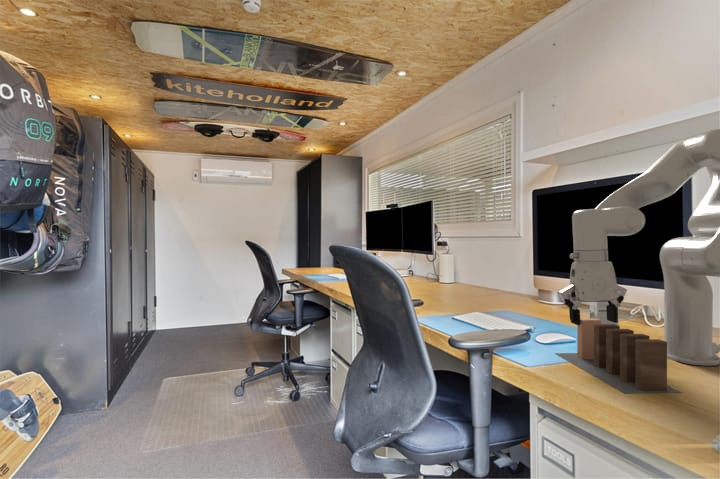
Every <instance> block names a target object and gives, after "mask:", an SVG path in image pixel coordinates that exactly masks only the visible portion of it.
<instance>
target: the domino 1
mask: <svg viewBox="0 0 720 479" xmlns="http://www.w3.org/2000/svg"><path fill="white" fill-rule="evenodd" d="M580 323H581V324H580V325H576V326H577V327H576V328H577V336H576V337H577V339H576V340H577V343H576V344H577V345H576V346H577V351H576V353H577V357H579V358H581V359H594V324H601V320H599V319H596V318H590V317H589V318H580Z"/></svg>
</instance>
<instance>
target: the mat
mask: <svg viewBox="0 0 720 479" xmlns="http://www.w3.org/2000/svg"><path fill="white" fill-rule="evenodd" d="M554 355H556V356H558V357H560V358H562V359H563V360H566V362H569V363H570V364H572V365H573V366H576V367H577V368H579V369H580V370H583V371H584V372H585V373H587V374H589V375H591V376H592V377H595V378H596V379H598V380H600V381H601V382H604V383H605V384H607V385H609V387H611V388H613V389H616V390H617V391H619V392H620V393H622V394H624V395H627V394H628V395H631V394H632V395H634V394H635V395H639V394H640V395H642V394H644V395H646V394H650V395H651V394H684V392H683V391H680V390H678V389H677V388H674V387H672V386H670V385H668V384H667V391H641V390H640V389H638V388H636V387H635V383H626V382H624V381H623V380H621V379H620V375H611V374H609V373H607V372H606V368H598V367H596V366H594V359H581V358H579V357H577V352H567V353H565V352H561V353H559V352H554Z"/></svg>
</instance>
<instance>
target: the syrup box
mask: <svg viewBox="0 0 720 479" xmlns="http://www.w3.org/2000/svg"><path fill="white" fill-rule="evenodd" d="M607 305H609V304H608V303H607V302H606V301H603V302H589V318H596V319H599V320H601V324H615V325H618V326H620V325H619V322H620V321H619V320H620V319H618V322H617V323H614V322H611V321H608V320H607V311H606V306H607Z"/></svg>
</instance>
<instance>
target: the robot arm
mask: <svg viewBox="0 0 720 479" xmlns="http://www.w3.org/2000/svg"><path fill="white" fill-rule="evenodd" d="M705 167H706V169H707V172H708V174H709V177H710V186H709V188H708V190H707V192H706V193H705V194H704V196H703V198H702V199H701V201H700V202H699V203H698V205H697V206H696V208H694V211H693V212H692V214H691V215H690V217H689V219H688V222H687V229H688V231H689V232H690V234H692V235H693V236H682V237H681V236H680V237H675V238H672V239H670V240H667V242H665V243H664V244H663V245H662V246H661V248H660V251H659V262H660V265H661V269H662V274H663V284H664V285H663V286H664V288H663V290H664V291H663V292H664V293H663V294H664V297H663V301H664V302H663V310H664V311H663V315H664V316H663V322H664V323H663V325H664V327H663V331H664V332H663V335H664V336H663V341H666V342H667V360H671V361H674V362H678V363H682V364H687V365H696V366H706V367H710V366H713V367H714V366H718V365H720V357H719V356H718V355H717V354H718V353H720V344H717V343H716V342H713V311H714V309H713V304H714V303H713V301H714V296H713V295H714V294H713V293H714V292H713V288H712V285H711V283H710V281H709V278H708V277H713V278H714V277H715V278H720V128H716V129H715V128H714V129H712V130H708V131H704V132H701V133H697V134H694V135H691V136H687V137H685V138H682V139H681V140H678V141H676V143H674V144H673V145H672V146H671V147H670V148H669V149H668V150H667V151H666V152H665V153H664V154H662V155H661V156H660V157H659V158H658V159H657V160H656V161H655V162H654V163H653V164H652V165H651V166H649V167H648V169H646V170H645V171H644V172H643V173H642V174H640V175H639V176H636V177H635V178H634V179H632V180H631V181H629V182H628V183H626V184H624V185H623V186H622V187H620V188H618V189H617V190H615V191H613V193H611V194H609V196H607V197H606V198H605V199H603V200H602V201H601V202H600V203H599V204H598V205H597V206H596V207H595V208H588V209H579V210H578V209H577V210H575V211H574V212H573V213H572V216H571V223H572V225H571V226H572V238H573V240H572V242H573V253H569V259H573V262H572V264H571V267H570V273H569V275H570V276H569V285H568V286H566V287H565V288H564V289H561V290H560V291H559V292H558V293H557V294H558V297H560V300H561V302H562V303H563V304H564V305H565V306H566V307H567V308H568V310H569V320H570V323H571V324H574V325H576V326H577V325H580V324H581V323H580V319H581V310H580V309H578V308H579V307H580V305H581V304H582V303H590V302H603V301H606V302H607V303H608V304H609V305H607V306H606V311H607V320H608V321H611V322H614V323H617V322H618V320H619V307H620V306H621V303H622V302H623V301H624V300H625V296H626V294H627V292H628V290H627V288H625V287H623V286H622V285H618V283H617V276H616V271H615V267H614V265H613V262H612V261H609V250H608V249H609V248H608V236H609V237H613V236H614V237H615V236H616V237H625V236H626V237H628V236H632V235H635V234H637V233H638V232H640V231H641V230H642V229H643V228H644V226H645V224H646V216H645V214H644V213H643V212H642V211H641V209H640V208H642V207H645V206H647V205H651V204H654V203H656V202H657V203H658V202H660V201H662V200H664V199H666V198H669V197H671V196H672V195H674V194H676V192H677V191H678V190H679V189H680V188H681V187H683V185H684V184H686V183H687V182H688V181H689V180H690V179H691V178H692V177H693V176H694V175H696V173H697V172H699V171H700V170H701V169H703V168H705ZM568 295H570V299H569V297H568Z"/></svg>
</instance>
